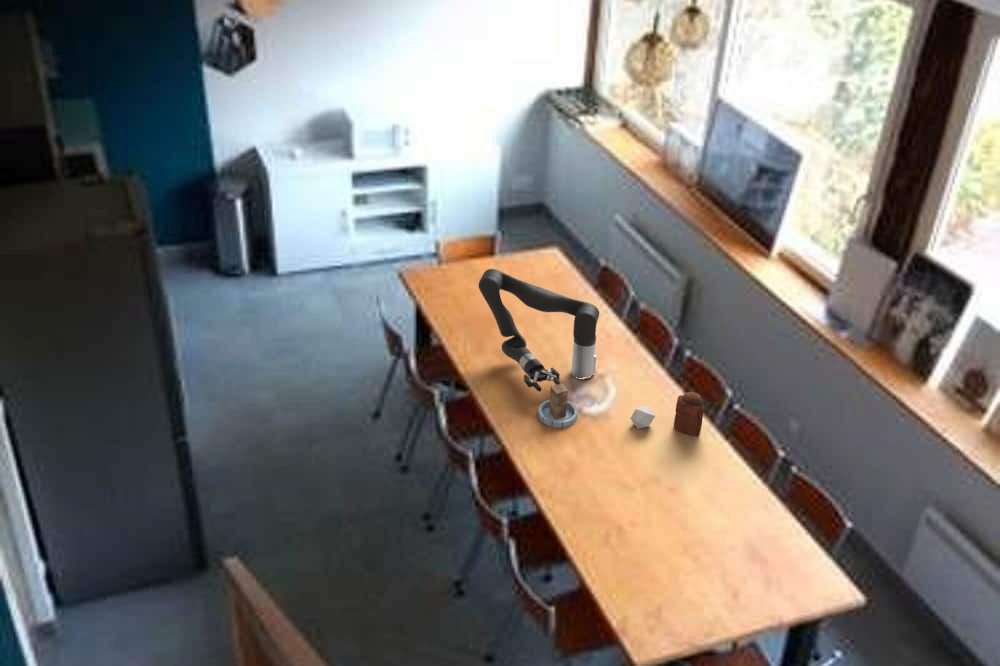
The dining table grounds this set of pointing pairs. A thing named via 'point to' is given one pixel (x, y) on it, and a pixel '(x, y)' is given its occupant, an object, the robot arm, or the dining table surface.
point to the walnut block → (558, 401)
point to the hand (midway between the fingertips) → (549, 387)
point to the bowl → (560, 422)
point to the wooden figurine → (689, 414)
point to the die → (642, 417)
